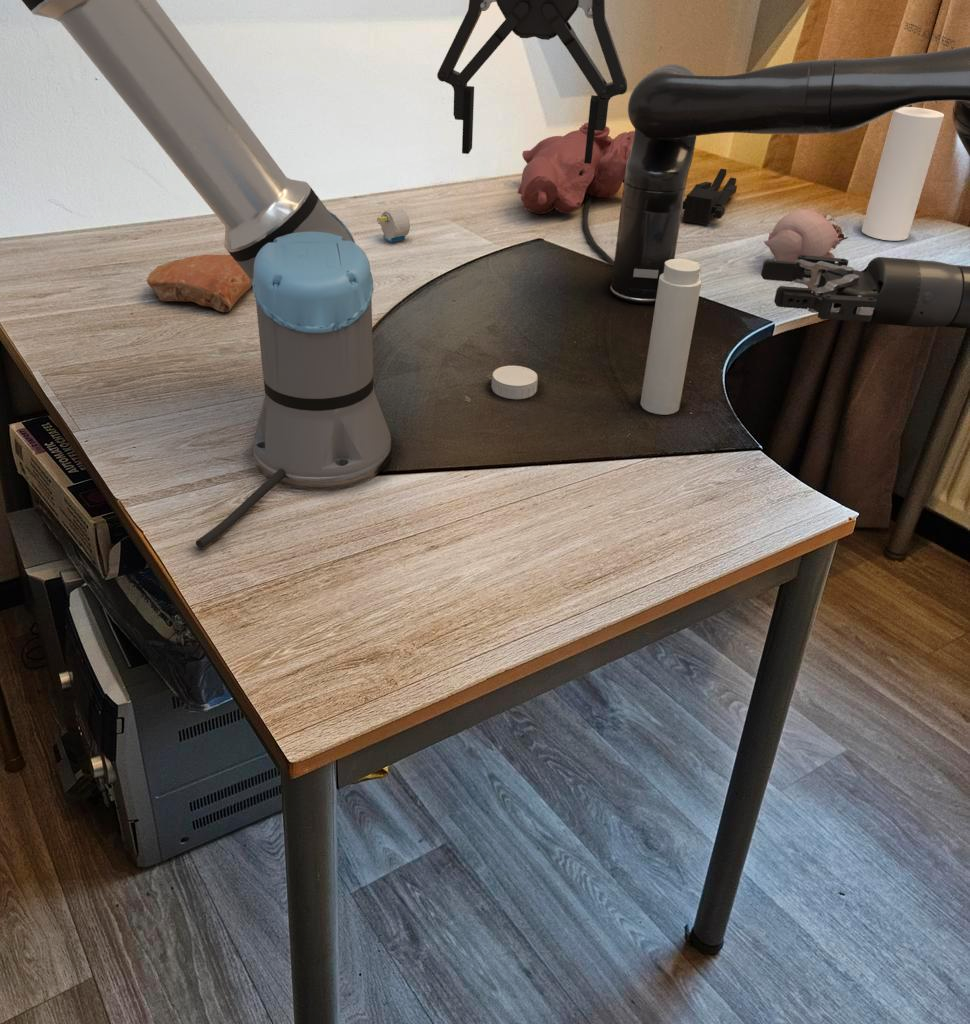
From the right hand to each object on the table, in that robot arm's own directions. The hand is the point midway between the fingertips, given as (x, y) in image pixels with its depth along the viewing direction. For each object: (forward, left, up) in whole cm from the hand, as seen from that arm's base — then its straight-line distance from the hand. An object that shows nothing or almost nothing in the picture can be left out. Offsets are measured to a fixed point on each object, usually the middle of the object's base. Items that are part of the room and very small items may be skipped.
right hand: (769, 282), depth 112 cm
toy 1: (-90, +8, -17) cm, 92 cm away
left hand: (-2, -29, +12) cm, 32 cm away
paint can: (-78, +39, -17) cm, 89 cm away
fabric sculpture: (-85, -20, -17) cm, 89 cm away
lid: (-2, -29, -15) cm, 33 cm away
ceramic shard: (-27, -77, -17) cm, 83 cm away
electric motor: (-56, -53, -17) cm, 79 cm away
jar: (0, -10, -17) cm, 20 cm away
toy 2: (-56, +18, -17) cm, 62 cm away
